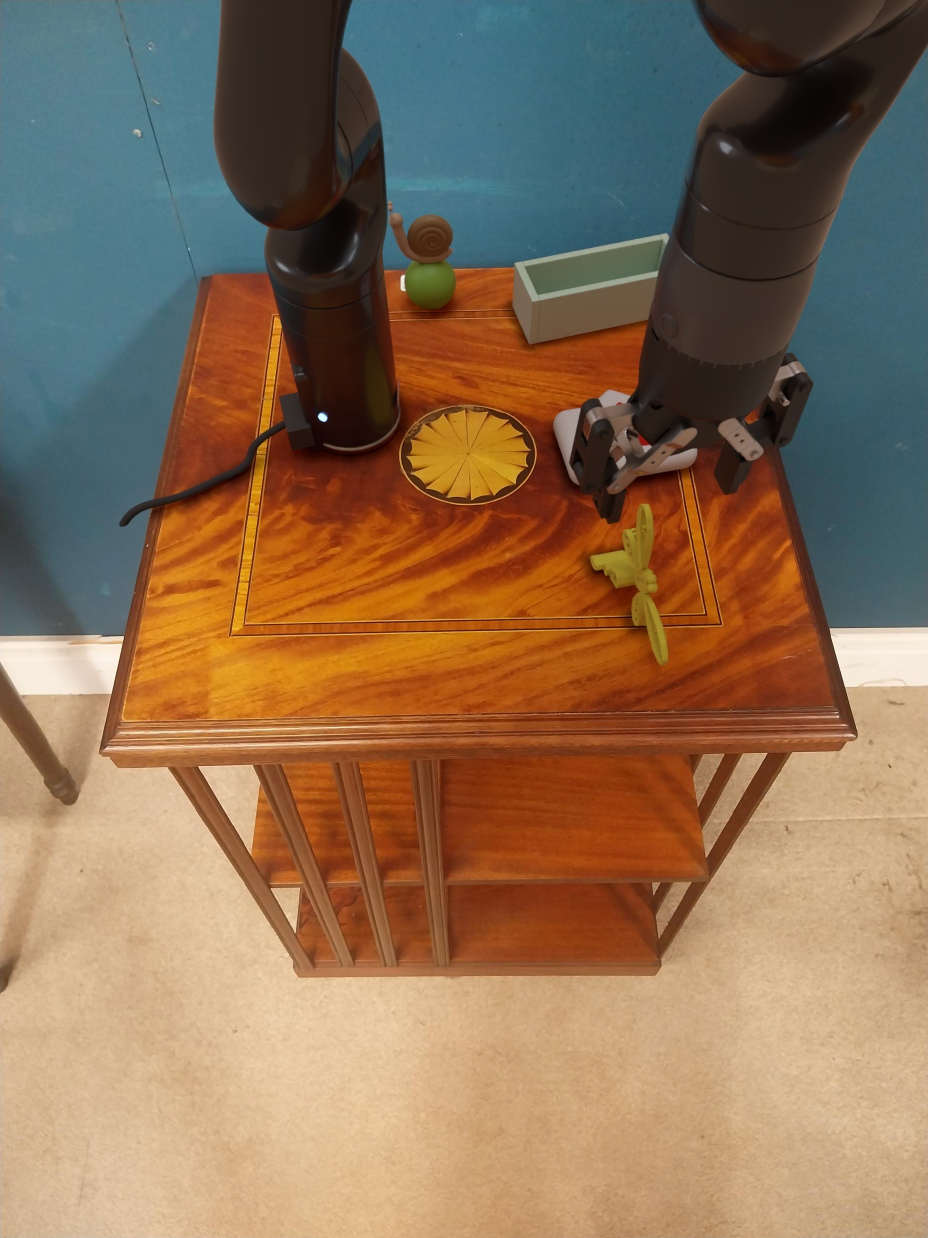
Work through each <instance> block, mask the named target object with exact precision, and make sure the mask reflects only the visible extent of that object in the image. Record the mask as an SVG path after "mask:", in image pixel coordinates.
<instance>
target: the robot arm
mask: <svg viewBox="0 0 928 1238" xmlns="http://www.w3.org/2000/svg"><path fill="white" fill-rule="evenodd" d="M353 1H354V0H220V9H219V11H220V14H219V35H218V46H217V47H218V48H217V62H216V63H217V64H216V77H215V89H214V91H215V92H214V102H213V103H214V105H213V118H212V119H213V121H212V132H213V133H212V135H213V147H214V151H215V156H216V161H217V163H218V167H219V169H220V172H221V175H222V177H223V180H224V181H225V184H226V186H227V188H228V189H229V191H230V193H231V195H232V196H233V197H234V199H235V200H236V202H237V203H238V204H239V205H240V206H241V208H242V209H243V210H244V211H245V212H246V213H247V214H248V215H250V216H251V218H253V219H254V220H255V221H257V222H258V223H260V224H261V225H263V226H265V227H266V228H267V229H266V230H267V231H266V234H265V239H264V244H263V256H264V262H265V267H266V272H267V275H268V279H269V282H270V285H271V289H272V293H273V294H272V295H273V297H274V302H275V305H276V310H277V313H278V318H279V322H280V327H281V329H282V333H283V339H284V342H285V346H286V350H287V354H288V357H289V358H288V359H289V363H290V367H291V370H292V375H293V378H294V383H295V387H296V391H297V392H296V391H295V392H292V393H291V392H290V393H286V394H282V395H279V396H278V400H279V404H280V408H281V412H282V417H283V420H281V421H280V422H278V423H276V424H275V425H273V426H271V427H270V428H268V429H266V430H264V431H263V432H262V433H261V434H259V435H257V437H256V438H255V439H253V440H252V442H251V443H250V444H249V447H248V448H247V451H246V456H245V458H244V460H243V461H242V462H240V464H238V465H237V466H235V467H233V468H231V469H229V470H227V471H224V472H222V473H219V474H217V475H215V476H213V477H211V478H209V479H207V480H205V481H203V482H200V483H198V484H196V485H194V486H192V487H190V488H187V489H185V490H183V491H180V492H178V493H175V494H171V495H167V496H163V497H157V498H154V499H149V500H147V501H144V502H141V503H138V504H135V506H132V507H131V508H130V509H129V510H128V511H126V512H125V514H123V516H122V518H121V519H120V521H119V523H118V526H119V527H121V528H123V527H126V526H128V525H129V524H130V523H131V521H132V520H133V519H134V518H135V517H137V515H139V514H141V513H142V512H145V511H148V510H151V509H154V508H158V507H162V506H167V505H171V504H175V503H178V502H181V501H184V500H186V499H189V498H191V497H194V496H196V495H198V494H200V493H202V492H204V491H207V490H209V489H212V488H213V487H214V486H217V485H219V484H221V483H223V482H225V481H227V480H230V479H233V478H235V477H236V476H239V475H241V474H242V473H244V472H245V471H246V470H247V469H248V468H249V467H250V466H251V465H252V463H253V462H254V459H255V456H256V453H257V450H258V448H259V447H260V446H261V445H262V444H263V443H264V442H265V441H267V440H269V439H270V438H271V437H273V436H275V435H277V434H278V433H281V431H283V430H286V434H287V438H288V441H289V444H290V449H291V451H296V450H302V449H306V448H311V450H312V451H314V452H319V451H326V452H329V453H332V454H336V455H341V456H342V455H343V456H358V455H364V454H367V453H371V452H373V451H375V450H378V449H379V448H381V447H384V445H386V444H387V443H388V442H390V440H391V439H392V438H393V437H395V435H396V434H397V432H398V430H399V428H400V425H401V421H402V410H401V403H400V379H399V376H397V373H396V366H395V356H394V346H393V338H392V329H391V328H392V327H391V319H390V312H389V311H390V310H389V303H388V301H389V300H388V293H387V283H386V274H385V266H384V257H383V256H384V255H383V251H384V244H385V240H386V239H385V238H386V234H387V228H388V219H389V216H388V213H389V211H388V205H387V203H388V194H387V175H386V159H385V144H384V143H385V142H384V134H383V124H382V118H381V114H380V113H381V111H380V108H379V106H378V101H377V96H376V94H375V91H374V89H373V87H372V84H371V82H370V80H369V78H368V76H367V74H366V73H365V71H364V69H363V67H362V66H361V65H360V63H359V62H358V61H357V59H356V58H355V57H354V56H353V55H352V54H351V53H350V52H349V51H348V50H347V49H346V48H345V47H343V45H344V43H343V42H344V38H345V31H346V27H347V23H348V19H349V15H350V11H351V7H352V4H353ZM689 1H690V3H691V6H692V9H693V11H694V14H695V16H696V18H697V20H698V22H699V24H700V25H701V27H702V29H703V30H704V32H705V34H706V36H707V37H708V38H709V40H710V42H712V43H713V45H714V46H715V48H717V50H718V51H719V52H720V53H721V54H722V55H723V56H724V57H726V59H727V60H728V61H730V62H731V64H733V65H735V66H736V67H738V68H739V69H741V70H743V71H744V72H743V73H742V74H741V75H740V76H739V77H738V78H737V79H735V81H734V82H732V83H731V84H730V85H728V87H727V88H725V90H723V91H722V92H721V93H719V95H718V96H717V97H716V98H714V100H713V101H712V102H711V104H709V106H708V108H707V109H706V110H705V111H704V113H703V115H702V116H701V118H700V120H699V122H698V124H697V126H696V129H695V131H694V134H693V137H692V141H691V145H690V149H689V153H688V157H687V161H686V165H685V170H684V174H683V178H682V182H681V183H682V184H681V187H680V192H679V196H678V200H677V201H678V202H677V207H676V210H675V214H674V215H675V216H674V220H673V225H672V228H671V231H670V234H669V235H668V236H669V239H668V242H667V244H666V247H665V249H664V252H663V255H662V258H661V262H660V266H659V271H658V275H657V280H656V285H655V289H654V294H653V299H652V303H651V308H650V313H649V317H648V320H647V323H646V327H645V332H644V336H643V337H644V338H643V342H642V345H641V350H640V356H639V363H638V377H637V378H638V379H637V385H636V388H635V389H634V391H633V392H632V394H631V395H630V397H629V399H628V400H627V403H625V404H620V405H615V406H609V407H604V408H603V406H602V404H601V402H600V400H599V399H598V398H596V397H591V398H589V399H587V400H585V401H584V402H583V403H582V404H581V406H580V408H581V409H580V414H579V419H578V423H577V428H576V432H575V437H574V442H573V446H572V451H571V455H570V460H569V464H570V466H571V469H572V470H573V471H574V474H575V476H576V478H577V480H578V483H579V485H578V486H579V488H580V491H581V493H582V495H586V496H587V495H588V496H589V495H592V498H591V500H592V503H593V504H594V507H595V509H596V511H597V513H598V516H599V518H600V519H601V520H604V519H605V521H606V523H607V524H608V525H613V524H617V523H620V522H621V517H622V515H623V514H622V513H623V509H624V504H625V502H626V501H625V500H626V496H627V492H628V490H627V489H626V488H627V487H628V486H629V485H630V484H631V483H633V481H635V479H637V478H638V477H639V476H638V475H640V474H644V475H643V476H648V474H649V475H651V474H650V473H651V472H652V471H653V470H655V469H656V468H657V467H658V466H659V465H660V464H661V463H662V462H663V461H664V460H665V459H666V458H668V457H669V456H673V455H677V454H680V453H683V452H685V451H688V450H690V449H697V450H698V449H704V448H710V447H714V446H715V444H716V443H717V442H718V441H720V440H722V439H725V440H724V443H723V445H722V448H721V451H720V454H719V456H718V459H717V461H716V464H715V466H714V470H713V476H714V479H715V481H716V482H717V484H718V486H719V488H720V490H721V492H722V494H723V495H724V496H729V495H732V494H736V493H737V492H738V490H739V488H740V485H743V484H744V482H745V481H746V480H747V478H748V476H749V474H750V472H751V470H752V467H753V464H754V462H755V460H757V459H759V458H760V457H761V456H762V455H763V454H764V451H765V450H764V449H766V448H768V447H769V446H772V445H773V446H774V448H776V449H781V448H784V447H786V446H788V445H789V444H790V443H791V442H792V441H793V438H794V436H795V433H796V431H797V428H798V425H799V423H800V420H801V417H802V415H803V412H804V410H805V408H806V405H807V403H808V400H809V397H810V395H811V393H812V391H813V390H812V389H813V387H814V381H813V380H812V379H811V377H810V375H809V374H808V372H807V371H806V369H805V367H803V365H802V364H801V361H800V360H799V359H798V358H797V356H796V355H795V353H794V352H787V351H788V349H789V346H790V343H791V340H792V339H793V337H794V333H795V331H796V328H797V326H798V325H799V321H800V319H801V316H802V313H803V311H804V308H805V306H806V303H807V302H808V298H809V295H810V293H811V290H812V286H813V283H814V280H815V275H816V270H817V266H818V261H819V259H820V255H821V252H822V250H823V247H824V246H825V245H824V244H825V242H826V239H827V238H828V235H829V232H830V230H831V227H832V224H833V222H834V219H835V218H836V214H837V212H838V210H839V207H840V205H841V202H842V199H843V196H844V194H845V191H846V188H847V185H848V181H849V178H850V175H851V173H852V171H853V169H854V166H855V164H856V162H857V160H858V158H859V157H860V155H861V153H862V151H863V150H864V148H865V146H866V144H867V143H868V142H869V141H870V139H871V137H872V136H873V134H874V133H875V132H876V130H877V129H878V128H879V126H880V125H881V123H882V121H883V120H884V119H885V117H886V116H887V114H888V112H889V111H890V110H891V108H892V107H893V105H894V103H895V101H896V100H897V98H898V97H899V95H900V94H901V92H902V90H903V88H904V87H905V85H906V84H907V82H908V80H909V78H910V77H911V75H912V74H913V72H914V70H915V69H916V67H917V65H918V64H919V62H920V60H921V59H922V57H923V56H924V54H925V52H926V50H927V49H928V0H689ZM760 405H761V407H760V409H759V410H760V411H759V413H758V417H757V420H755V421H752V422H750V423H748V421H747V419H746V418H747V417H748V416H750V414H751V413H752V412H753V411H755V410H756V409H757V408H758V407H759V406H760ZM639 434H640V435H641V436H642V437H643V438H644V439H645V440H646V441H647V442H648V443H649V444H650V445H651V446H652V447H651V448H650V449H649V450H648V451H647V452H646V453H645V451H644V449H643V447H642V445H641V444H640V442H639ZM623 456H625V458H626V463H625V465H624V466H623V467H622V468H621V469H620V470H619V468H618V466H617V464H616V463H617V462H618V461H619V460H620V459H621V458H622V457H623ZM637 476H638V477H637Z"/></svg>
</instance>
